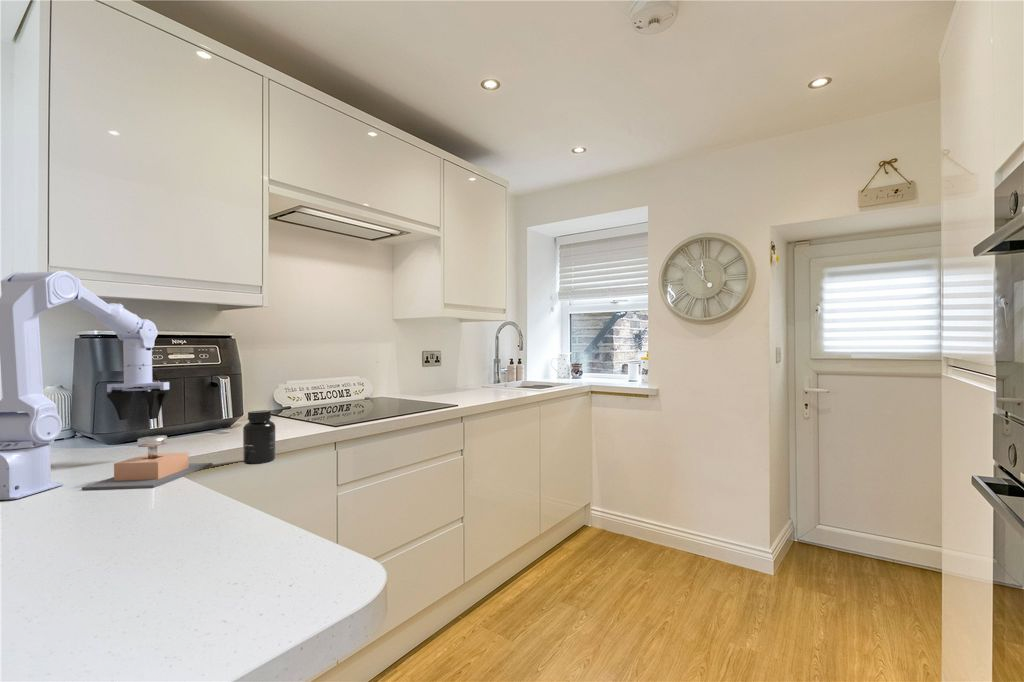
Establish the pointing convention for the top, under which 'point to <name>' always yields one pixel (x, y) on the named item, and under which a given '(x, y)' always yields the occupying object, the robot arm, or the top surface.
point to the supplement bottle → (259, 438)
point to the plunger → (152, 444)
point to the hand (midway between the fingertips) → (138, 419)
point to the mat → (145, 483)
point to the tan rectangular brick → (150, 466)
